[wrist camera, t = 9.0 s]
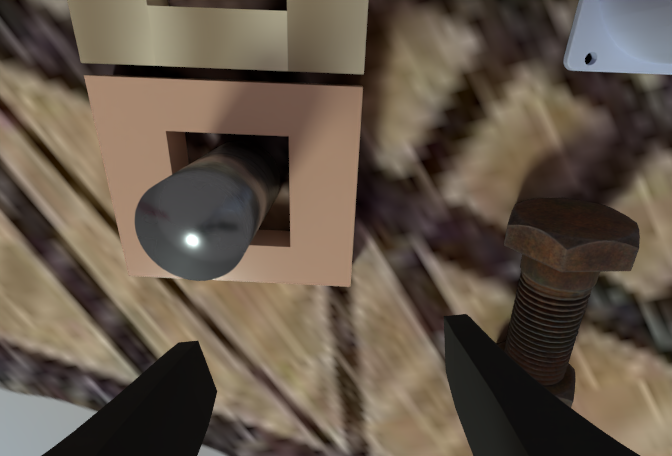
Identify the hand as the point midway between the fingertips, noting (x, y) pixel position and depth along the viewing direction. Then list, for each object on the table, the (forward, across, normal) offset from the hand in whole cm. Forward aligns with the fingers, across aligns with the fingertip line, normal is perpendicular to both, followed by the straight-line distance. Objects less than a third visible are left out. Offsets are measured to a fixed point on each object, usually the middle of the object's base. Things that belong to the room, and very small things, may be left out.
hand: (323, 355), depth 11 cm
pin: (+10, +4, -3) cm, 12 cm away
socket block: (+10, +4, -3) cm, 12 cm away
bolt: (+11, -10, +8) cm, 17 cm away
